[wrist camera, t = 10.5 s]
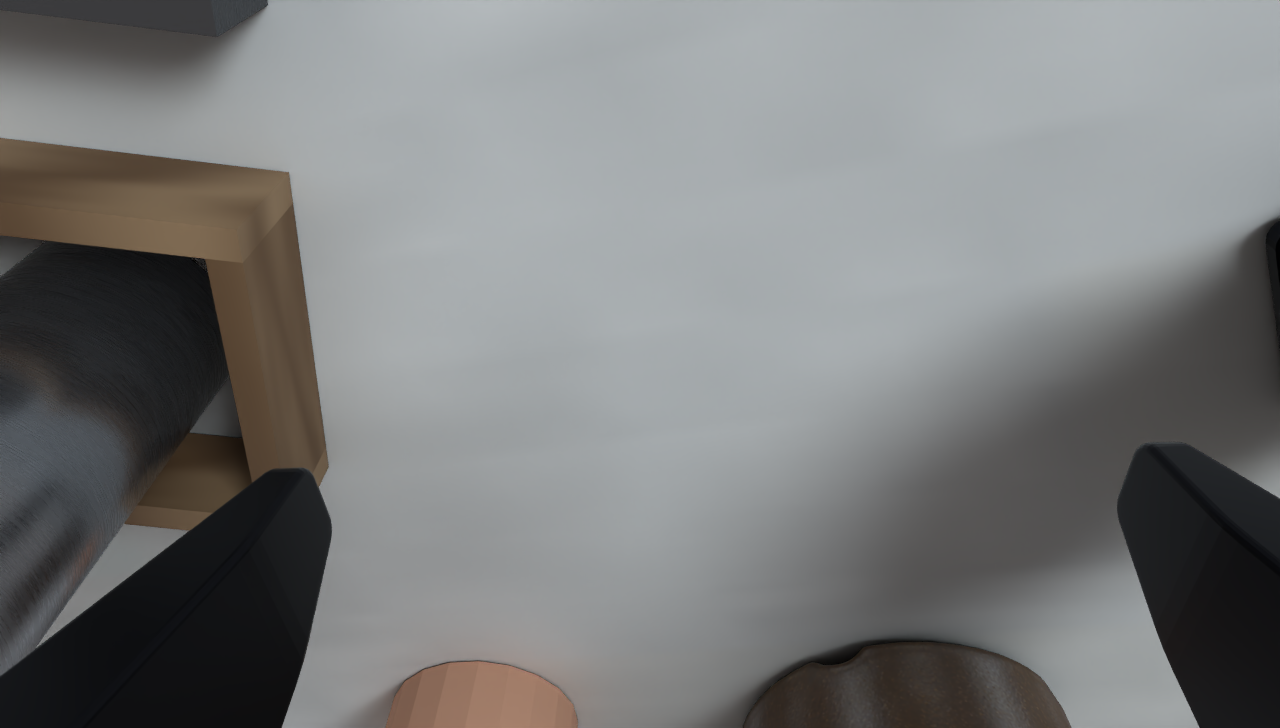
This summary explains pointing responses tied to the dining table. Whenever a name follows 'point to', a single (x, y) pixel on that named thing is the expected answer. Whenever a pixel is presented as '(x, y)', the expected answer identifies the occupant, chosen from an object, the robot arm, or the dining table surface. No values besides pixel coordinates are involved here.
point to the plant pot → (911, 692)
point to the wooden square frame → (241, 286)
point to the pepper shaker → (479, 699)
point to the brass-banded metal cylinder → (90, 410)
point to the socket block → (148, 12)
